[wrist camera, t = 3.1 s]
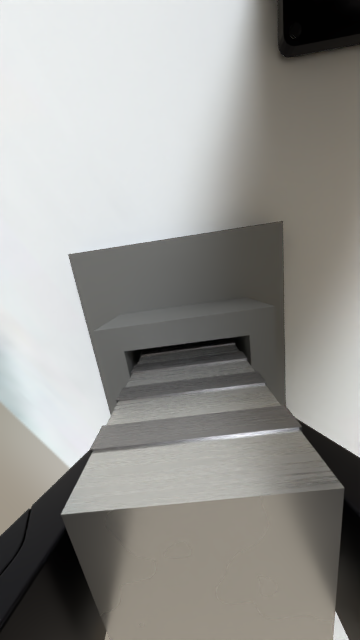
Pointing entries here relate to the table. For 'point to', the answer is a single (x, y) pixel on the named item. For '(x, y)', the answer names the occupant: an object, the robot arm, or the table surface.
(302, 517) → the column
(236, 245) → the stand base
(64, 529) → the robot arm
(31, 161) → the table surface
